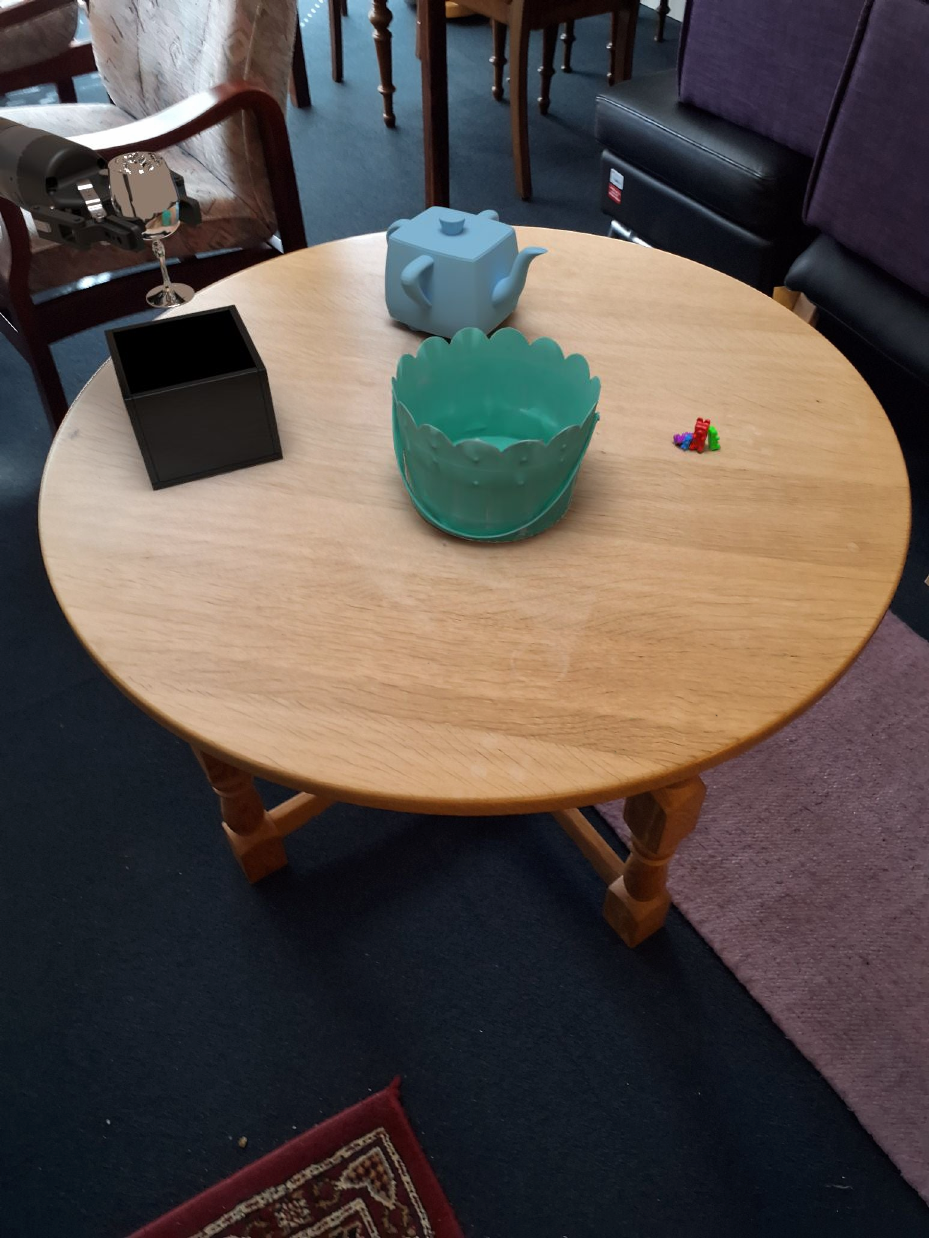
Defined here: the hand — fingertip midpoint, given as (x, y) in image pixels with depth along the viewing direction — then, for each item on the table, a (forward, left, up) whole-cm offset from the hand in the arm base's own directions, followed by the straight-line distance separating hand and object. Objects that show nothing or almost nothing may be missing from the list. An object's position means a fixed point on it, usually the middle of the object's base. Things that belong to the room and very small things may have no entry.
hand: (169, 227), depth 78 cm
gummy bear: (+47, -19, -24) cm, 56 cm away
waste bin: (-1, +3, -24) cm, 24 cm away
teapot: (+34, +14, -24) cm, 44 cm away
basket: (+24, -17, -24) cm, 38 cm away
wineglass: (-1, +2, -7) cm, 8 cm away
